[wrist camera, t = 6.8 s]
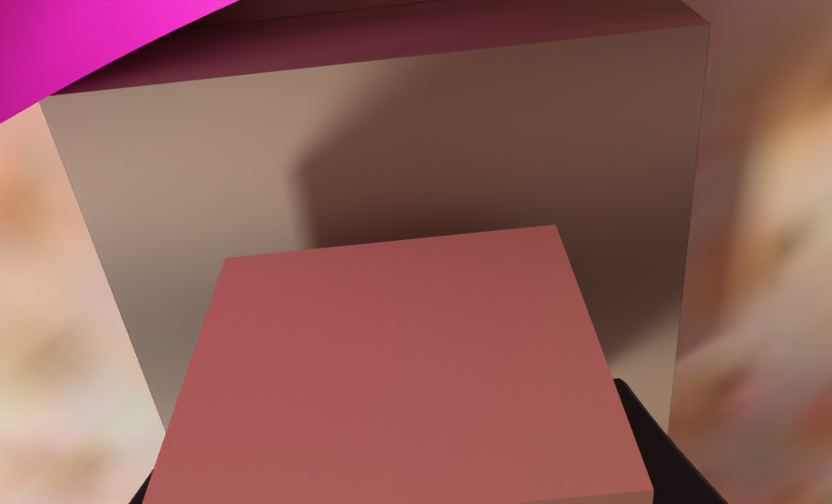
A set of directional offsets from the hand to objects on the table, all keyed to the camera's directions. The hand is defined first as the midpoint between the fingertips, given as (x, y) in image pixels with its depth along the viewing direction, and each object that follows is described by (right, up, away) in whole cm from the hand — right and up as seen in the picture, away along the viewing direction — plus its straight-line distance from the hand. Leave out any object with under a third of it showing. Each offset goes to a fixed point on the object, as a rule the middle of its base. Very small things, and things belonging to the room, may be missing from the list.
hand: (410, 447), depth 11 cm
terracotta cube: (0, +1, +1) cm, 2 cm away
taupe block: (0, +3, +5) cm, 6 cm away
